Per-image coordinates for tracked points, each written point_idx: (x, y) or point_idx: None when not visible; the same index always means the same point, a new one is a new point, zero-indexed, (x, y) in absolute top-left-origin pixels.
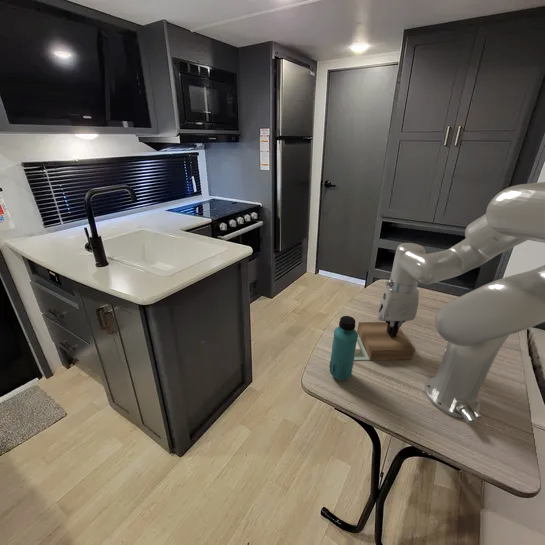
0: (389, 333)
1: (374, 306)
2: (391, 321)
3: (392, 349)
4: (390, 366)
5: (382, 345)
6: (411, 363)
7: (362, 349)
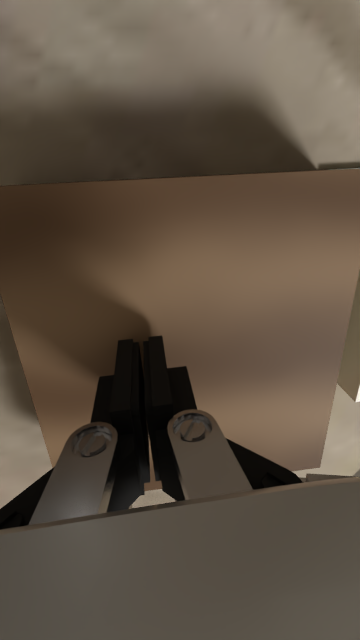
0: (173, 368)
1: None
2: (231, 483)
3: (193, 186)
4: (200, 103)
5: (262, 240)
6: (27, 142)
7: None
